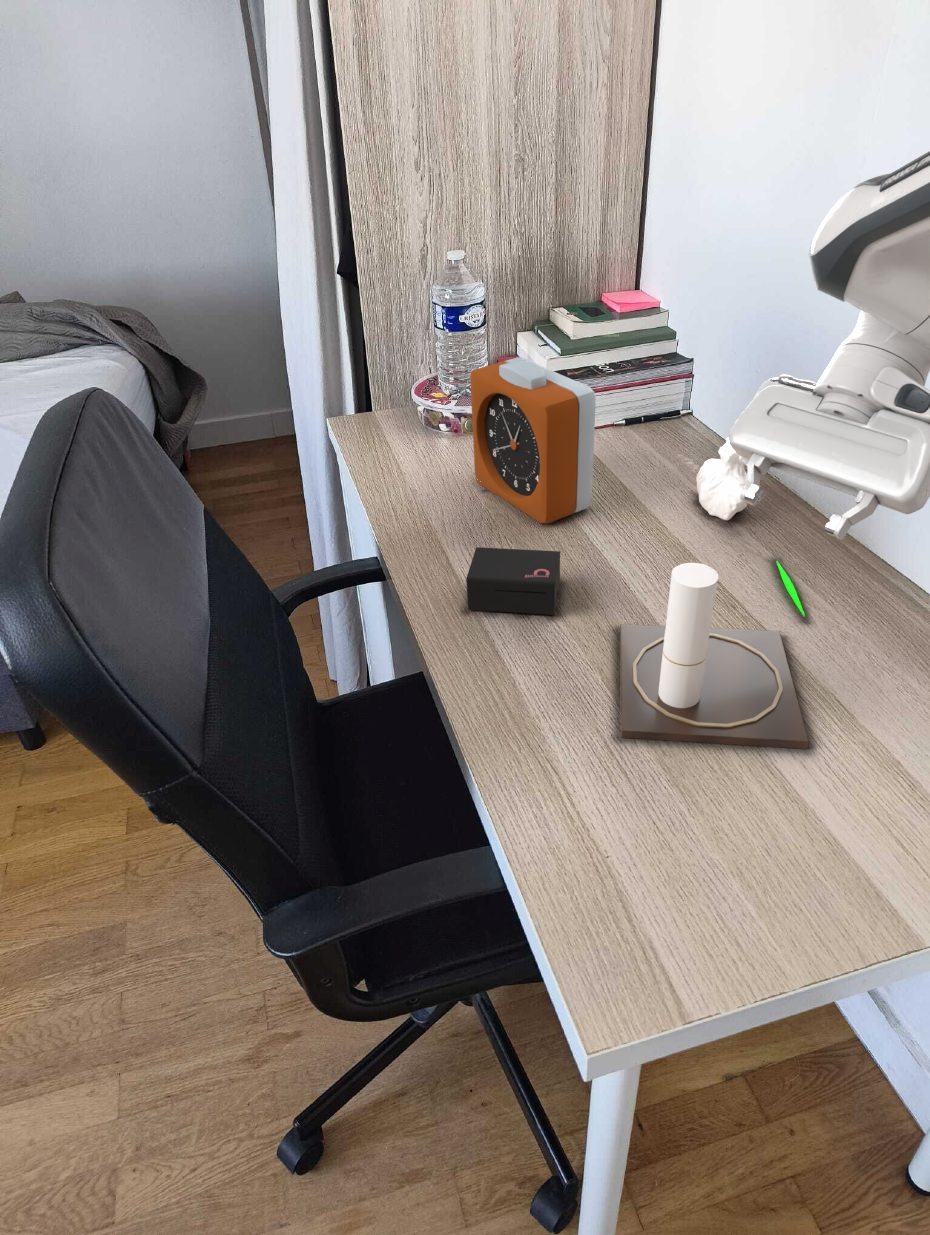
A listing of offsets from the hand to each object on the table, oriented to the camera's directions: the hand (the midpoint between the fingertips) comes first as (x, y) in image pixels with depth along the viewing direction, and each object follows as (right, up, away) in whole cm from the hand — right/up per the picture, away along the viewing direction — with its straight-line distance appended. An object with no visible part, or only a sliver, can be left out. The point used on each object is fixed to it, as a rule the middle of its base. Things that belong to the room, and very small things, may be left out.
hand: (788, 518), depth 83 cm
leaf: (+8, -7, +21) cm, 24 cm away
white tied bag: (+5, +6, +39) cm, 40 cm away
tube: (-10, -18, +5) cm, 21 cm away
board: (-6, -17, +8) cm, 20 cm away
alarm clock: (-22, +8, +44) cm, 50 cm away
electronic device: (-26, -7, +23) cm, 35 cm away
